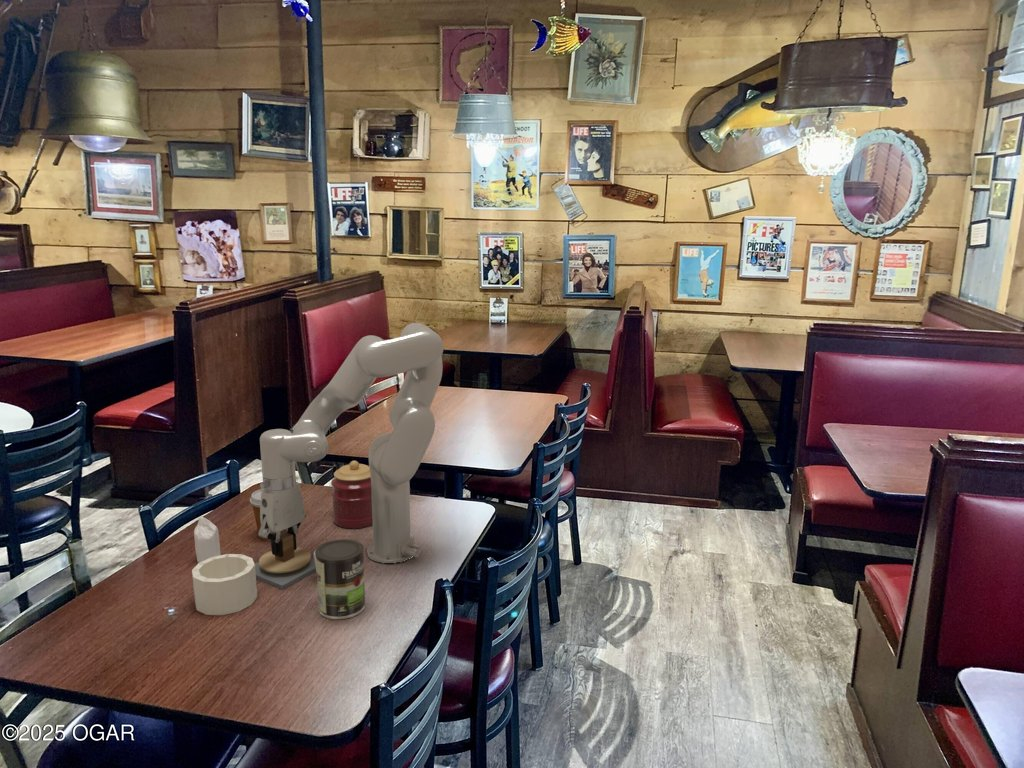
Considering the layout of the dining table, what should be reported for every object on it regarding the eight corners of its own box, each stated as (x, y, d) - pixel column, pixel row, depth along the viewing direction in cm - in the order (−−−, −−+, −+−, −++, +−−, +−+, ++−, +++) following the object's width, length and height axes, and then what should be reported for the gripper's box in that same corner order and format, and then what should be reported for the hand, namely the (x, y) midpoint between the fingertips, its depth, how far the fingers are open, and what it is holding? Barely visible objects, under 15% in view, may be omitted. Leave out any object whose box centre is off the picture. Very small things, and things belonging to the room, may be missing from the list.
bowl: (268, 595, 169) (266, 563, 167) (220, 621, 158) (217, 587, 156) (231, 580, 175) (229, 549, 173) (183, 604, 165) (179, 571, 163)
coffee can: (375, 603, 166) (373, 546, 163) (342, 625, 157) (339, 564, 154) (341, 590, 171) (339, 534, 168) (308, 610, 163) (304, 552, 159)
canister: (357, 506, 218) (355, 450, 214) (389, 518, 211) (387, 459, 207) (323, 521, 208) (320, 462, 204) (355, 533, 201) (352, 472, 196)
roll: (222, 512, 184) (207, 521, 179) (225, 556, 187) (211, 566, 182) (201, 509, 186) (186, 518, 181) (205, 552, 189) (190, 562, 183)
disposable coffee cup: (244, 539, 197) (241, 497, 194) (269, 525, 205) (266, 484, 202) (273, 545, 193) (270, 503, 190) (297, 531, 202) (294, 490, 199)
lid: (320, 557, 182) (319, 532, 181) (282, 578, 172) (280, 551, 171) (287, 545, 188) (285, 520, 187) (248, 564, 179) (246, 538, 177)
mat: (327, 565, 183) (326, 561, 183) (282, 589, 171) (282, 585, 171) (288, 551, 190) (287, 547, 190) (242, 573, 179) (242, 569, 178)
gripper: (261, 495, 167) (267, 570, 171) (317, 474, 180) (320, 543, 185) (240, 488, 170) (246, 561, 175) (295, 468, 184) (299, 535, 188)
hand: (284, 551), depth 180 cm, fingers open, 3 cm apart
